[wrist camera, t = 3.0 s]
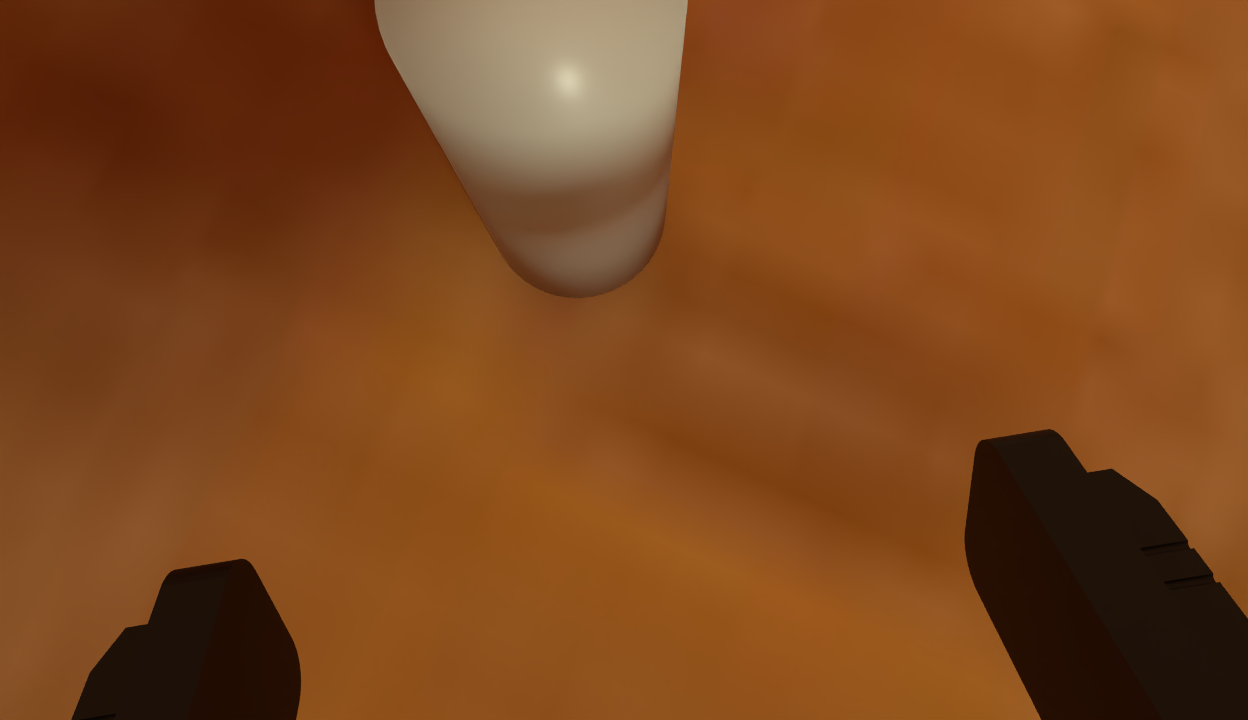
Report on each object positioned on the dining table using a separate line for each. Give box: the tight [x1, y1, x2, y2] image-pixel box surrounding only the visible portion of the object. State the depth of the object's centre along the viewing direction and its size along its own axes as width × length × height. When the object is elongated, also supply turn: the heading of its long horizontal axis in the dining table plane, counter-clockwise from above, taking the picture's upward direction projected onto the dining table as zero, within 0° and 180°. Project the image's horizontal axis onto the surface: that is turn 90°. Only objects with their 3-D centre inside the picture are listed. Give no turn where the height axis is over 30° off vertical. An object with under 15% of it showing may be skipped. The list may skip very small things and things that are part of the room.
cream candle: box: [375, 0, 688, 298], centre depth 19 cm, size 4×4×11 cm
